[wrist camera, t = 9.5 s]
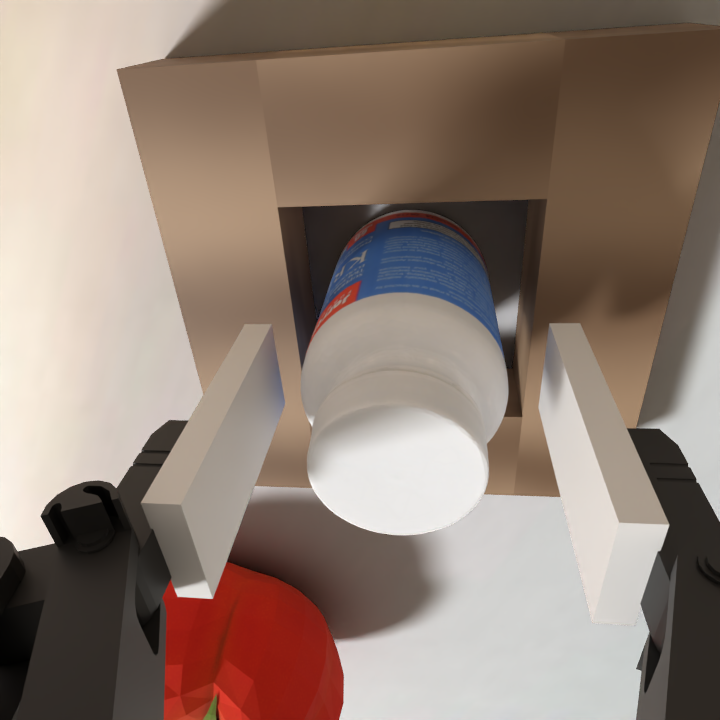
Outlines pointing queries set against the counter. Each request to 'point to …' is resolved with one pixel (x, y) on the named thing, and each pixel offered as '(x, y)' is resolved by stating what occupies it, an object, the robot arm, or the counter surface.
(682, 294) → the counter surface
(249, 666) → the tomato
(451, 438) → the pill bottle
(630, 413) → the walnut holder block
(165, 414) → the counter surface
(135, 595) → the robot arm
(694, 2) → the counter surface
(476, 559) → the counter surface
